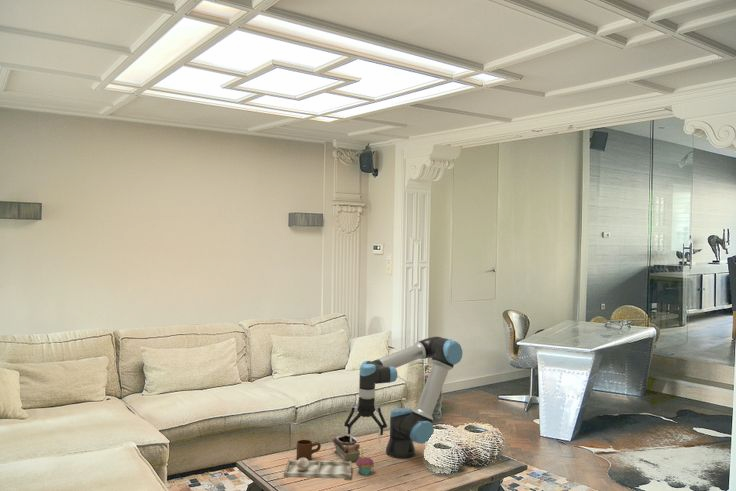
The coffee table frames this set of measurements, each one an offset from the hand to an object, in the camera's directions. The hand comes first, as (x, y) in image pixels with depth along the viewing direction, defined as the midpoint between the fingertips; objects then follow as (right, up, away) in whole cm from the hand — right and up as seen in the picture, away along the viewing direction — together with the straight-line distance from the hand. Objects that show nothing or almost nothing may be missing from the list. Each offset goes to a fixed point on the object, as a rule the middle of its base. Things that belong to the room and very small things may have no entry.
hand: (365, 441), depth 291 cm
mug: (-28, -14, +14) cm, 35 cm away
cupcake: (0, -15, 0) cm, 15 cm away
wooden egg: (-30, -13, -1) cm, 33 cm away
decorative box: (-12, -15, +21) cm, 28 cm away
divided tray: (-22, -14, -1) cm, 26 cm away
